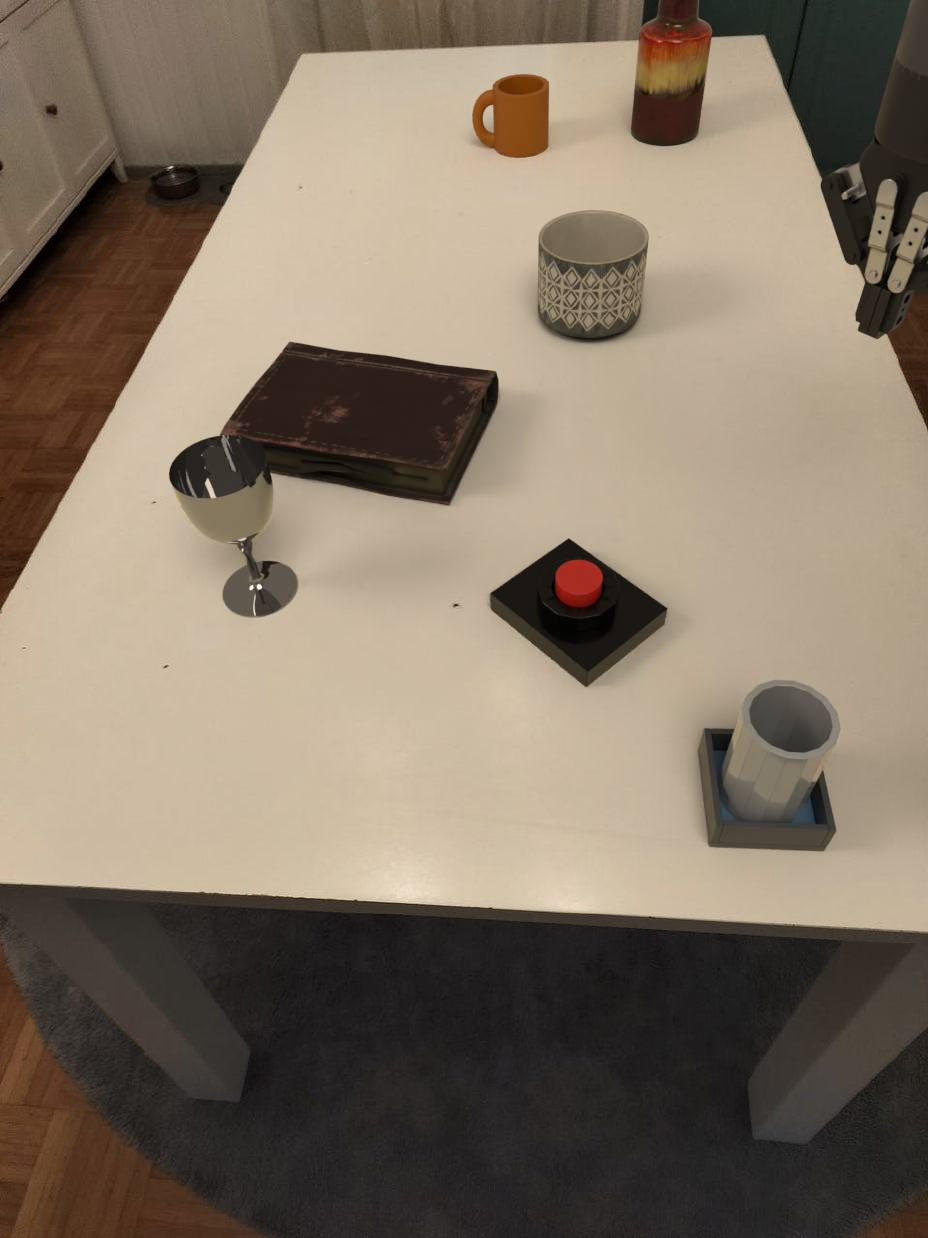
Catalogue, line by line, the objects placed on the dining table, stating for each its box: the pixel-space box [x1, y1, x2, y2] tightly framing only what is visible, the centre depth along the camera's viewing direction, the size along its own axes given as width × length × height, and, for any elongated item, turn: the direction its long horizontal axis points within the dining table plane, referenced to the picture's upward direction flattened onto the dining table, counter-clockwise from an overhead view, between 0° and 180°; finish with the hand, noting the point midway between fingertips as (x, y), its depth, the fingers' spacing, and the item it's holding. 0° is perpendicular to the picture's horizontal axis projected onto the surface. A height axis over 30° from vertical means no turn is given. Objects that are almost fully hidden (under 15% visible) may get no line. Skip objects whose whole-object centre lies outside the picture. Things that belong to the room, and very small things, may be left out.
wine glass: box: [168, 435, 299, 618], centre depth 78 cm, size 8×8×15 cm
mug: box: [471, 73, 550, 158], centre depth 140 cm, size 9×12×9 cm
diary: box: [219, 341, 500, 505], centre depth 95 cm, size 19×25×5 cm
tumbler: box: [718, 679, 841, 823], centre depth 62 cm, size 6×6×10 cm
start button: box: [555, 560, 603, 607], centre depth 76 cm, size 4×4×2 cm
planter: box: [537, 209, 650, 339], centre depth 106 cm, size 13×13×10 cm
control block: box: [489, 538, 668, 688], centre depth 78 cm, size 12×10×4 cm
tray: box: [697, 727, 837, 852], centre depth 65 cm, size 8×8×3 cm
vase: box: [630, 0, 713, 147], centre depth 136 cm, size 11×11×20 cm
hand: (874, 330), depth 62 cm, fingers closed
